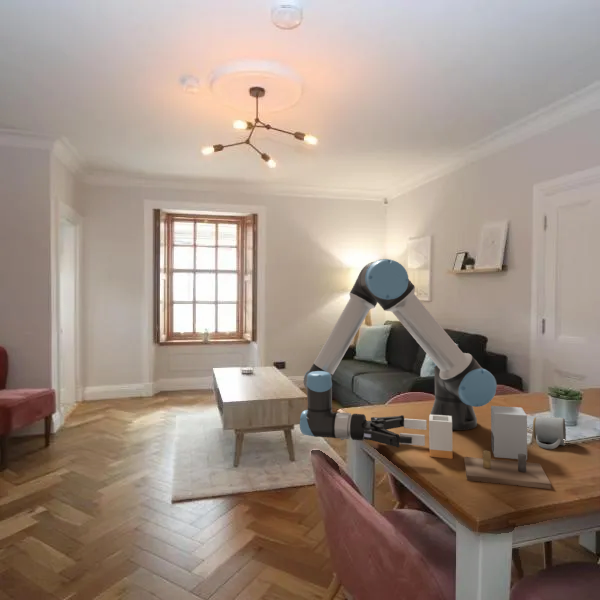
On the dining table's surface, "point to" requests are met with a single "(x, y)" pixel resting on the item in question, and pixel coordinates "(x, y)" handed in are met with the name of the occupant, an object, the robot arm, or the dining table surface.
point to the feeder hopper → (508, 431)
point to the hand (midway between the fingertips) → (425, 432)
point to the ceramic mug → (549, 431)
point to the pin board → (506, 471)
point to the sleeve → (440, 436)
